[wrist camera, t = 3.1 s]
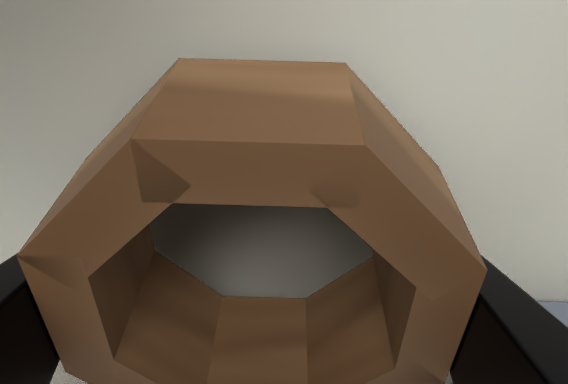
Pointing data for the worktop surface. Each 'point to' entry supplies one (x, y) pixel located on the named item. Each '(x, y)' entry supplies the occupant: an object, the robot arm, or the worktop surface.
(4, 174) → the worktop surface
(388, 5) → the worktop surface
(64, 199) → the walnut ring
